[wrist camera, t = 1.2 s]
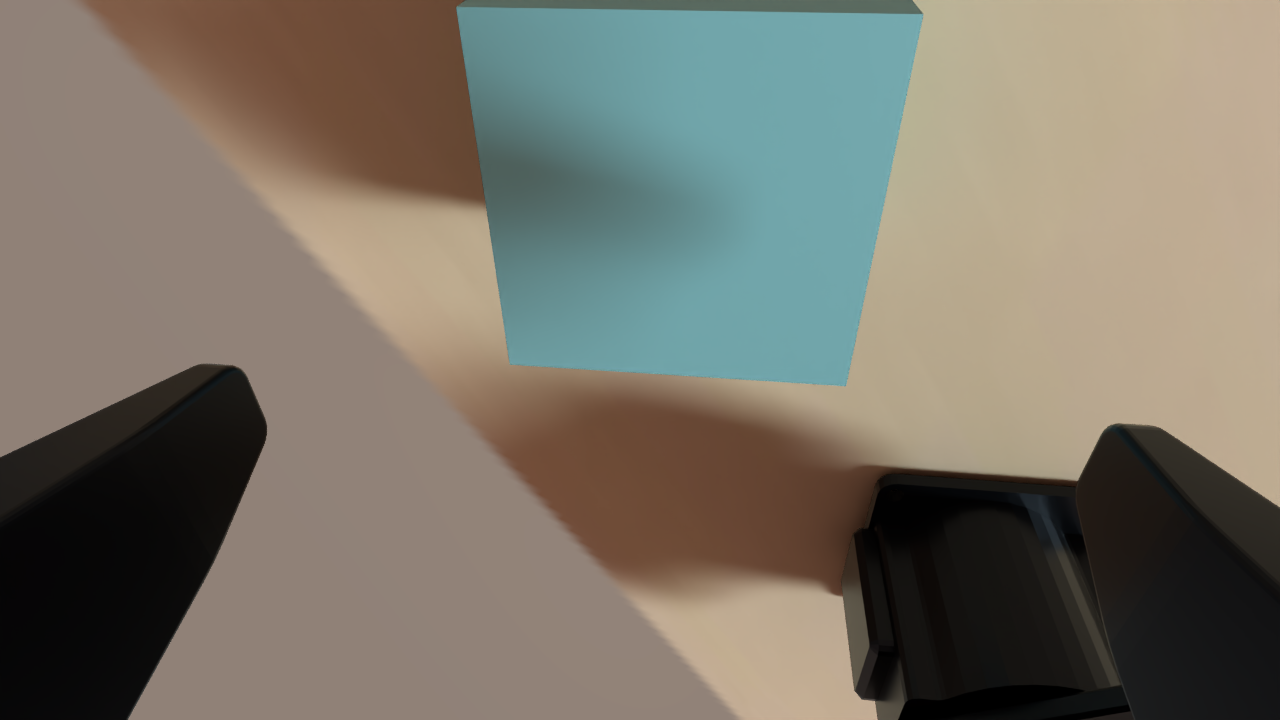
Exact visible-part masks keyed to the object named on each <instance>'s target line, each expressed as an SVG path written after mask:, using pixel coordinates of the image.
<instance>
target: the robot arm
mask: <svg viewBox="0 0 1280 720" xmlns="http://www.w3.org/2000/svg"><path fill="white" fill-rule="evenodd" d="M266 436H267V424H266V420H265V417H264V415H263V412H262V410H261V408H260V405H259V403H258V401H257V399H256V396H255V394H254V392H253V389H252V387H251V385H250V382H249V380H248V378H247V376H246V374H245V373H244V372H243V371H242V370H241V369H240V368H238V367H236V366H233V365H221V364H199V365H196V366H193V367H191V368H189V369H187V370H185V371H183V372H181V373H178V374H176V375H174V376H172V377H170V378H168V379H166V380H164V381H161V382H159V383H157V384H155V385H153V386H151V387H149V388H147V389H145V390H143V391H140V392H138V393H136V394H134V395H132V396H130V397H128V398H126V399H123V400H122V401H119V402H117V403H115V404H113V405H111V406H109V407H107V408H104V409H102V410H100V411H98V412H96V413H94V414H91V415H89V416H87V417H85V418H83V419H81V420H79V421H77V422H74V423H72V424H70V425H68V426H66V427H64V428H62V429H60V430H58V431H56V432H53V433H51V434H49V435H47V436H45V437H43V438H41V439H39V440H37V441H34V442H32V443H30V444H28V445H26V446H24V447H21V448H19V449H17V450H15V451H13V452H11V453H9V454H7V455H4V456H2V457H0V720H128V718H129V717H130V715H131V713H132V711H133V709H134V707H135V706H136V704H137V702H138V700H139V698H140V696H141V695H142V693H143V691H144V689H145V687H146V686H147V684H148V682H149V680H150V678H151V677H152V675H153V673H154V671H155V669H156V668H157V665H158V664H159V662H160V660H161V658H162V657H163V655H164V653H165V651H166V649H167V648H168V646H169V644H170V642H171V640H172V638H173V637H174V635H175V633H176V631H177V629H178V628H179V626H180V624H181V622H182V620H183V618H184V617H185V615H186V613H187V611H188V609H189V608H190V606H191V604H192V602H193V600H194V598H195V597H196V595H197V593H198V591H199V589H200V587H201V586H202V584H203V582H204V580H205V578H206V576H207V574H208V572H209V571H210V569H211V567H212V565H213V563H214V561H215V558H216V556H217V554H218V552H219V550H220V547H221V545H222V543H223V541H224V539H225V536H226V534H227V532H228V529H229V527H230V524H231V522H232V520H233V517H234V515H235V513H236V510H237V508H238V505H239V503H240V501H241V498H242V496H243V494H244V491H245V489H246V487H247V484H248V482H249V480H250V477H251V475H252V472H253V470H254V468H255V465H256V463H257V461H258V458H259V456H260V453H261V451H262V448H263V446H264V444H265V441H266ZM891 490H897V491H892V492H891ZM841 584H842V592H843V601H844V609H845V617H846V626H847V634H848V642H849V651H850V659H851V667H852V676H853V684H854V691H855V692H856V693H857V694H858V695H859V697H860V698H861V699H862V700H871V701H875V704H876V711H877V718H878V720H1280V507H1278V506H1277V505H1275V504H1274V503H1272V502H1271V501H1269V500H1268V499H1266V498H1265V497H1263V496H1262V495H1260V494H1259V493H1257V492H1256V491H1254V490H1253V489H1251V488H1250V487H1248V486H1247V485H1245V484H1244V483H1242V482H1241V481H1239V480H1238V479H1236V478H1235V477H1233V476H1232V475H1230V474H1229V473H1227V472H1226V471H1224V470H1223V469H1221V468H1220V467H1218V466H1217V465H1215V464H1214V463H1212V462H1211V461H1209V460H1208V459H1206V458H1205V457H1203V456H1202V455H1200V454H1199V453H1197V452H1196V451H1194V450H1193V449H1192V448H1190V447H1189V446H1187V445H1186V444H1184V443H1183V442H1181V441H1180V440H1178V439H1177V438H1175V437H1174V436H1172V435H1171V434H1169V433H1168V432H1166V431H1164V430H1163V429H1161V428H1159V427H1156V426H1150V425H1136V424H1121V423H1118V424H1113V425H1110V426H1108V427H1107V428H1106V429H1105V430H1104V431H1103V433H1102V434H1101V436H1100V438H1099V440H1098V442H1097V444H1096V446H1095V448H1094V450H1093V452H1092V454H1091V456H1090V458H1089V460H1088V462H1087V464H1086V466H1085V468H1084V470H1083V472H1082V474H1081V476H1080V478H1079V480H1078V483H1077V487H1065V486H1052V485H1038V484H1025V483H1011V482H998V481H984V480H971V479H957V478H944V477H930V476H917V475H903V474H889V475H886V476H883V477H881V478H880V479H879V480H878V481H877V483H876V485H875V488H874V492H873V496H872V500H871V503H870V507H869V511H868V515H867V518H866V522H865V526H864V528H859V529H858V530H857V531H856V532H854V533H853V535H852V539H851V543H850V547H849V551H848V555H847V559H846V563H845V567H844V571H843V574H842V578H841Z"/></svg>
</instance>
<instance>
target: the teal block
mask: <svg viewBox="0 0 1280 720" xmlns="http://www.w3.org/2000/svg"><path fill="white" fill-rule="evenodd" d="M456 10H457V16H458V23H459V30H460V36H461V43H462V50H463V56H464V63H465V70H466V76H467V83H468V89H469V96H470V103H471V109H472V116H473V123H474V129H475V136H476V143H477V149H478V156H479V163H480V169H481V176H482V183H483V189H484V196H485V203H486V209H487V216H488V222H489V229H490V236H491V242H492V249H493V256H494V262H495V269H496V276H497V282H498V289H499V296H500V302H501V309H502V316H503V322H504V329H505V335H506V342H507V349H508V355H509V362H510V365H524V366H540V367H555V368H571V369H587V370H602V371H618V372H634V373H649V374H665V375H680V376H696V377H712V378H727V379H743V380H759V381H774V382H790V383H805V384H821V385H837V386H846V383H847V379H848V374H849V369H850V364H851V359H852V355H853V350H854V345H855V340H856V335H857V331H858V326H859V321H860V316H861V311H862V307H863V302H864V297H865V292H866V287H867V283H868V278H869V273H870V268H871V263H872V259H873V254H874V249H875V244H876V239H877V235H878V230H879V225H880V220H881V215H882V211H883V206H884V201H885V196H886V191H887V187H888V182H889V177H890V172H891V167H892V163H893V158H894V153H895V148H896V143H897V139H898V134H899V129H900V124H901V119H902V115H903V110H904V105H905V100H906V95H907V91H908V86H909V81H910V76H911V71H912V67H913V62H914V57H915V52H916V47H917V43H918V38H919V33H920V28H921V23H922V19H923V13H922V12H921V11H920V9H919V8H918V7H917V6H916V4H915V3H914V2H913V1H912V0H465V1H464V2H462V3H461V4H460V5H458V6H457V7H456Z"/></svg>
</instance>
